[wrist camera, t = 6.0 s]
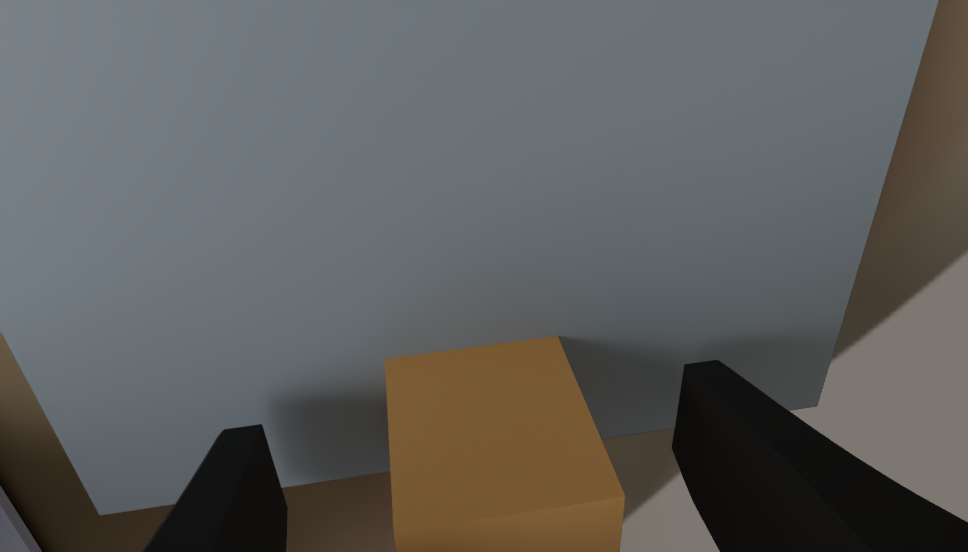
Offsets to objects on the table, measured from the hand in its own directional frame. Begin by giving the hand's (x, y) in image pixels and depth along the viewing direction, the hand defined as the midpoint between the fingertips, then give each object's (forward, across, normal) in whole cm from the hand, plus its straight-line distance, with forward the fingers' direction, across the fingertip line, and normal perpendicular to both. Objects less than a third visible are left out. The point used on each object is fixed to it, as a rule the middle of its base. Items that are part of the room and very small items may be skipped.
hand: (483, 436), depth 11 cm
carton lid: (+1, 0, -5) cm, 5 cm away
